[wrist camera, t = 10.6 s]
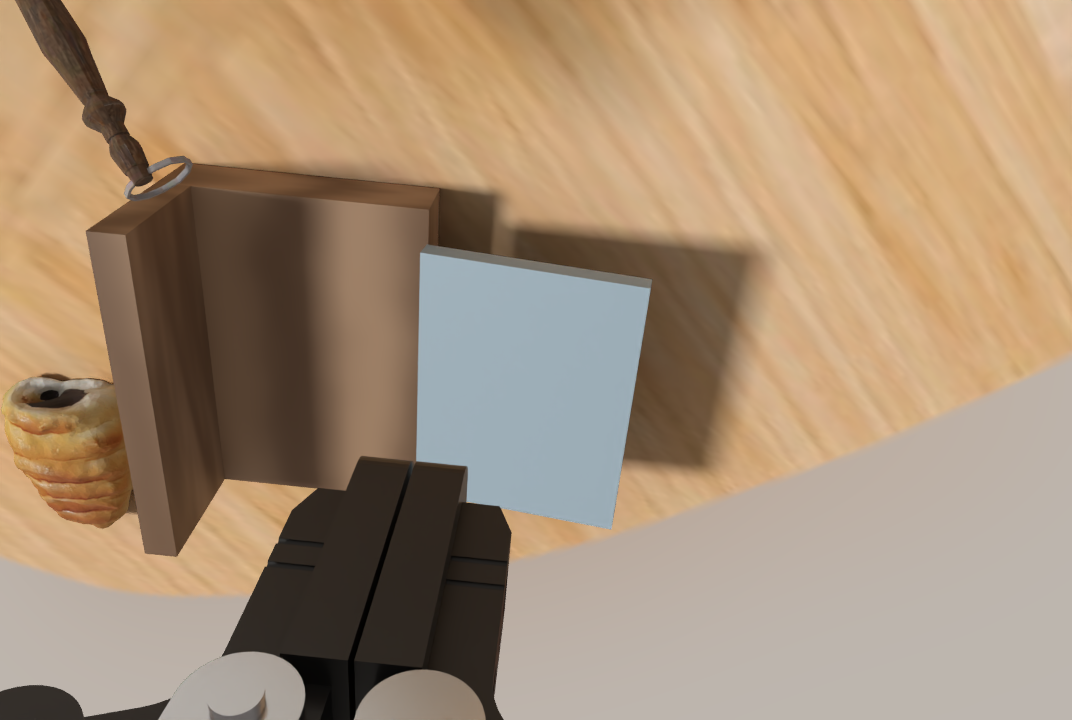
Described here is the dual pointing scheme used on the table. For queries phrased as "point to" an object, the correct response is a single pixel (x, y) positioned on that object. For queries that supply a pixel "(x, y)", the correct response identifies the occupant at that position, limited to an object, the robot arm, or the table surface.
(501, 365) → the light blue flat panel
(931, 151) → the table surface
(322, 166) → the table surface
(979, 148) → the table surface
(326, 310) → the brown wooden l-shaped piece
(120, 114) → the coffee pot
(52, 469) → the pastry
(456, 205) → the table surface
